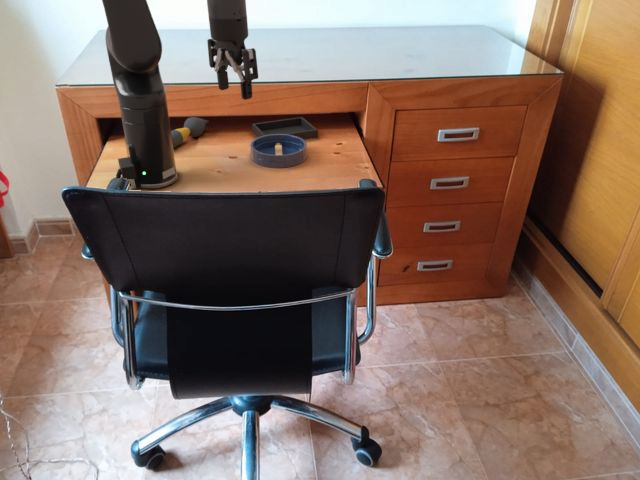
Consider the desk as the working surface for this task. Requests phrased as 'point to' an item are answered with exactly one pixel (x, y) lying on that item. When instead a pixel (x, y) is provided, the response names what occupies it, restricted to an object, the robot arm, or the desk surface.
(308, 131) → the pen tray
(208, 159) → the desk surface
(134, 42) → the robot arm
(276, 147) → the wooden stick
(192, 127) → the paintbrush
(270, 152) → the bowl
